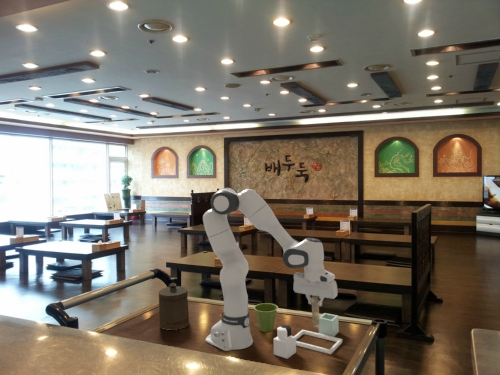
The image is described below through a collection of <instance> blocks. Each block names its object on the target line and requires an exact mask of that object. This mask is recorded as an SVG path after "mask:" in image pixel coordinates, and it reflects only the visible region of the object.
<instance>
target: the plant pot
mask: <svg viewBox="0 0 500 375" xmlns="http://www.w3.org/2000/svg"><path fill="white" fill-rule="evenodd" d="M253 309H254V310H255V316H256V318H257V319H256V320H257V326H258V330H259V332H262V333H267V332H269V333H271V332H272V331H274V329H275V328H274V327H275V323H276V322H275V321H276V314H277V311H278V309H279V306H278V305H276V304H275V303H270V302H268V303H267V302H265V303H258V304H256V305H254V306H253Z"/></svg>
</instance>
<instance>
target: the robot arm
mask: <svg viewBox="0 0 500 375" xmlns="http://www.w3.org/2000/svg"><path fill="white" fill-rule="evenodd" d="M210 207H211V208H210V209H208V210H207V211H205V212H204V214H203V215H202V222H203V227H204V231H205V233H206V235H207V238H208V242H209V244H210V246H211V248H212V252H213V253H214V255H216V256H217V257H218V258H217V259H218V260H219V261H220V263H221V264H222V268H221V269H220V271H219V282H220V285H221V290H222V294H223V295H222V296H223V310H224V311H222V313H219V317H220V318H221V319H220V320H219V321H217V322H216V323H215V324H214V325H213V326H212V327H211V329H210V333H209V335H207V337H206V338H205V342H206V343H208V344H210V345H211V346H215V347H217V348H218V349H220V350H222V351H225V352H228V351H229V352H230V351H232V350H233V351H234V350H242V349H243V350H244V349H246V348H249V347H250V346H252V345H253V343H254V339H253V337H252V334H251V328H250V311H249V298H248V297H249V295H248V293H247V286H246V277H247V275H248V274H249V270H250V268H249V262H248V260H247V259H246V258H245V256H244V254H243V252H242V250H241V249H240V247H239V245H238V244H237V243H238V242H237V241H236V239H235V236H234V233H233V230H232V229H231V226H230V224H229V220H228V214H231V213H234V212H236V211H240V212H241V213H242V214H243V215H244V216H245V217H246V219H247V220H248V222H249V223H251V224H252V226H254V227H255V229H257V230H259V231H264V232H267V233H269V234H270V235H271V236H272V237H273V238H274V239H275V240H276V242H277V243H278V244H279V245H280V246H281V248H282V250H283V255H282V261H283V264H284V265H285V266H286V267H287V268H289V269H293V270H294V269H299V268H301V269H302V268H303V271H304V272H299V271H297V272H294V273H293V289H292V290H293V291H294V293H297V294H301V295H305V298H306V299H307V301H308V302H307V303H308V305H312V295H313V296H318V297H319V299H320V300H319V301H318V302H317V305H318V306H319V307H322V306H323V301H324V299H325V298H326V299H335V298H336V297H338V284H337V281H336V280H335V279H336V275H335V274H334V273H332V272H330V271H328V270H326V269H325V265H324V260H325V253H324V246H323V243H322V241H321V240H320V239H318V238H315V237H306V238H304V239H303V240H302V241H299V240H296V239H295V238H294V237H292V236H291V234H290V233H289V232H288V231H287V230H286V229H285V228H284V226H282V224H281V223H280V222H279V220H278V218H277V217H276V215H275V213H274V211H273V210H272V208H271V207H270V205H268V203H267V202H266V201H265V199H264V198H263V197H262V196H261V195H259V194H258V192H256V191H255V190H254V189H252V188H246V189H244V190H242V191H240V192H238V191H237V190H236V189H234V188H233V187H223V188H221V189H219V190H217V191H216V192H215V193H214V194H212V197H211V198H210Z"/></svg>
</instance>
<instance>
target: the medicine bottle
mask: <svg viewBox="0 0 500 375" xmlns="http://www.w3.org/2000/svg"><path fill="white" fill-rule="evenodd" d="M276 332H277V333H276V334H277V336H276V337H274V338H273V339H272V341H273V355H275V356H277V357H281V358H283V359H286V360H288V359H290V358H291V357H292V356H293V355H294V354H296V353H297V345H296V341H297V340H296V337H294V336H295V335H294V336H293V335H292V327H291V326H290V325H287V324H282V325H279V326H277V328H276Z"/></svg>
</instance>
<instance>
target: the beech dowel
mask: <svg viewBox="0 0 500 375" xmlns="http://www.w3.org/2000/svg"><path fill="white" fill-rule="evenodd" d="M311 299H312V304H311V310H312V311H311V312H312V314H311V318H312V328H314V329H319V317H320V306H318V305H317V302H318V301H320V300H319V299H320V298H319V296H313V295H311Z"/></svg>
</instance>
